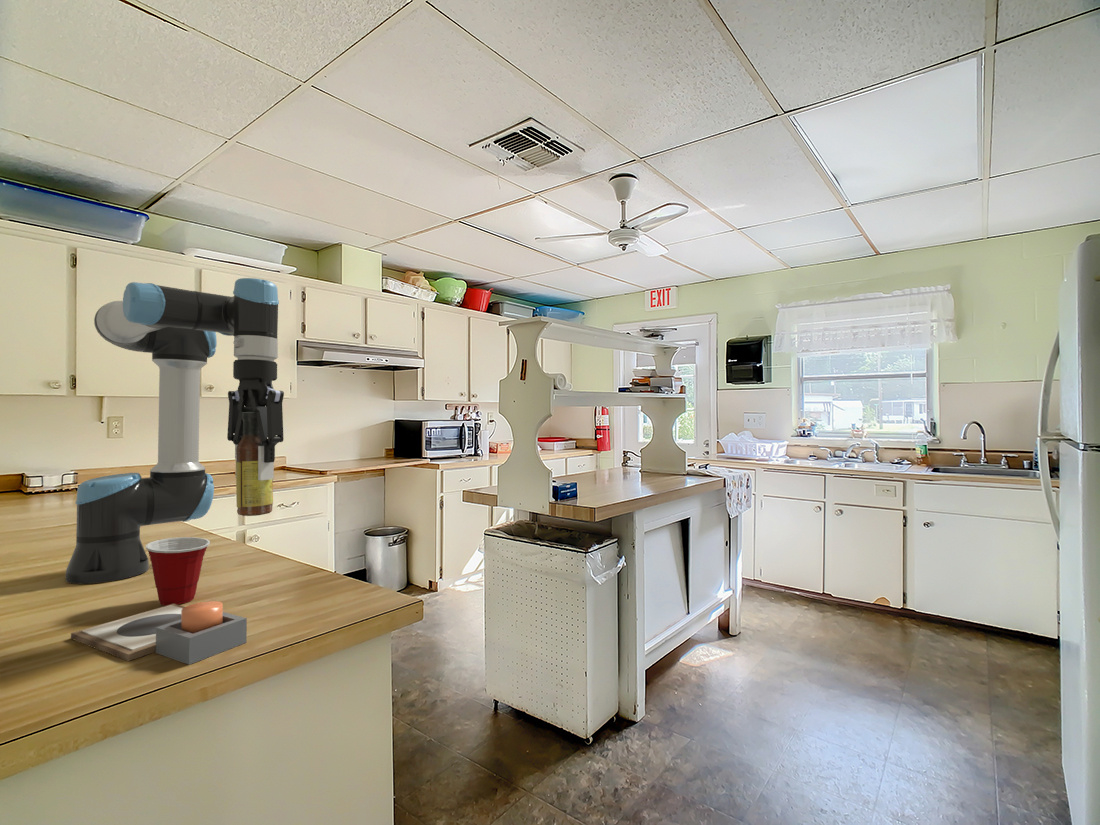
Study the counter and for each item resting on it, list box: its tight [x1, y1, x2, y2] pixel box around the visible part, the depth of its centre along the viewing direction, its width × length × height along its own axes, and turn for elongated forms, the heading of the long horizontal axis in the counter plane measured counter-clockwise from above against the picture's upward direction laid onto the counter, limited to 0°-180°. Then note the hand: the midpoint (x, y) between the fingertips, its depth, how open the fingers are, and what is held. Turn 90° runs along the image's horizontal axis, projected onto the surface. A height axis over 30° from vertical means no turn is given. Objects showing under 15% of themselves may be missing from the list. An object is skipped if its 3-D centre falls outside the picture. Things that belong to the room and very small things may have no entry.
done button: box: [181, 600, 224, 634], centre depth 87 cm, size 6×6×4 cm
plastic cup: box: [145, 536, 211, 606], centre depth 109 cm, size 11×11×12 cm
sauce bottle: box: [235, 412, 274, 517], centre depth 105 cm, size 6×6×20 cm
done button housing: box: [155, 611, 248, 665], centre depth 87 cm, size 9×9×4 cm
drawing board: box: [70, 604, 185, 662], centre depth 93 cm, size 18×16×1 cm
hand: (254, 478), depth 105 cm, fingers closed on sauce bottle, 6 cm apart
